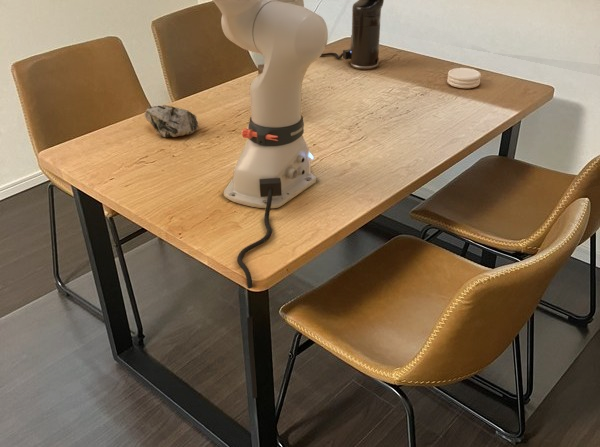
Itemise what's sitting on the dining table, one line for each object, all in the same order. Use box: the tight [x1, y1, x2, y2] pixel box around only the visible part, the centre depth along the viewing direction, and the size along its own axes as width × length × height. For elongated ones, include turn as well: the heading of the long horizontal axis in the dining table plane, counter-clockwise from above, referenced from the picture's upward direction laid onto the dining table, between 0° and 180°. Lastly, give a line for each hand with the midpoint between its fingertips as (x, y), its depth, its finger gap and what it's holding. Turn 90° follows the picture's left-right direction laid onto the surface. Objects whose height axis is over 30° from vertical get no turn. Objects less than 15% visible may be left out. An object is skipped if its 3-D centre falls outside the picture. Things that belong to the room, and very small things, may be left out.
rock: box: [144, 104, 199, 138], centre depth 165 cm, size 15×10×7 cm
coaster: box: [446, 67, 482, 89], centre depth 192 cm, size 10×10×4 cm
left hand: (267, 37), depth 162 cm, fingers open, 8 cm apart
